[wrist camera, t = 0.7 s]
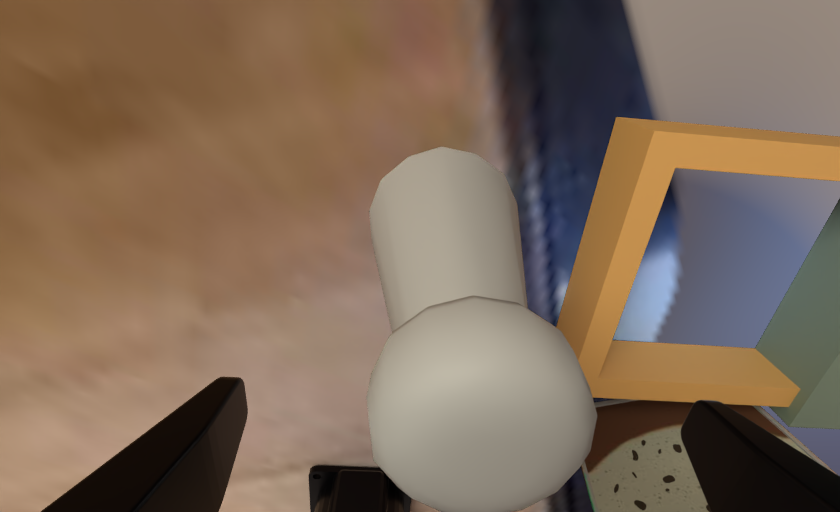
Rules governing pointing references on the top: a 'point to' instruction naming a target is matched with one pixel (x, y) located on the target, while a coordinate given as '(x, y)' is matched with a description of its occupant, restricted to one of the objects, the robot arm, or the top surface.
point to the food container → (653, 456)
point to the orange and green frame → (698, 364)
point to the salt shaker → (467, 347)
